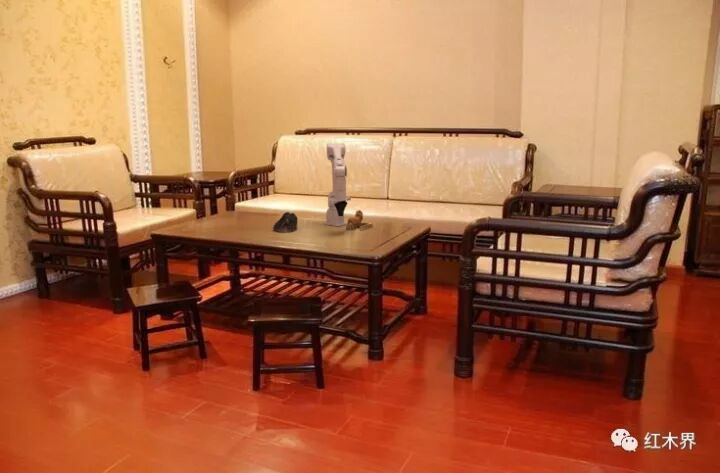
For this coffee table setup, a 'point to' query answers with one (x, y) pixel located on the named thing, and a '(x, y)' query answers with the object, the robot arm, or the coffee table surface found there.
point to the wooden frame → (362, 225)
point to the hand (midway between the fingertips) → (340, 216)
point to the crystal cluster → (286, 223)
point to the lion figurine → (355, 220)
